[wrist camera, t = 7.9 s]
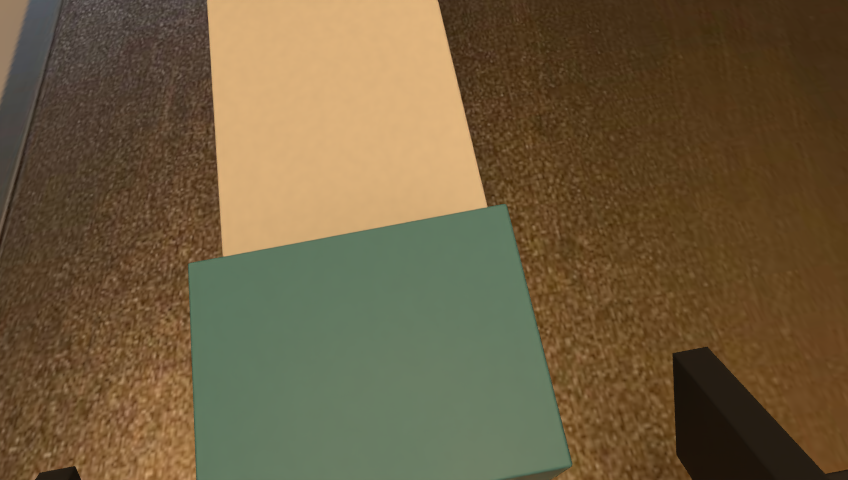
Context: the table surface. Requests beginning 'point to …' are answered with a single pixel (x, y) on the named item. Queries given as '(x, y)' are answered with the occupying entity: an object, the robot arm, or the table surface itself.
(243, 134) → the stepped block stack
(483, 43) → the table surface
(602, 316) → the table surface
